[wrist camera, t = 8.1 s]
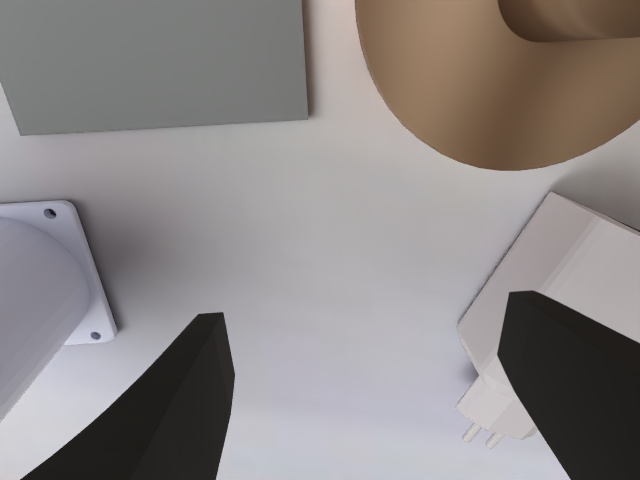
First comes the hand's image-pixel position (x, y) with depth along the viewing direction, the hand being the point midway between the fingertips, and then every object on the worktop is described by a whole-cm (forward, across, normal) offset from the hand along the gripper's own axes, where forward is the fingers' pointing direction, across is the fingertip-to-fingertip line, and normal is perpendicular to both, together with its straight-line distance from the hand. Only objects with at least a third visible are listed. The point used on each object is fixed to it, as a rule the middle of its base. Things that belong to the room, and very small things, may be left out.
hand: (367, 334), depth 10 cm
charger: (+10, -11, +9) cm, 18 cm away
